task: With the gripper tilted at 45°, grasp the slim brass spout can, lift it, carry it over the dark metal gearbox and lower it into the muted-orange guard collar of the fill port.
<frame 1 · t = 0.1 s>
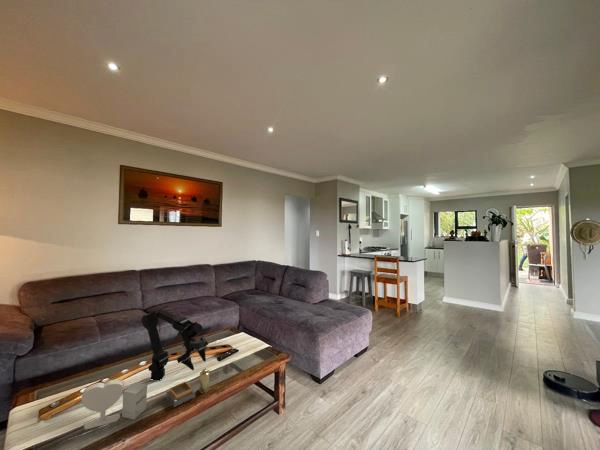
hand: (199, 365, 141), 15 cm above the table, tool tilted 35°, fingers open, 9 cm apart
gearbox: (180, 397, 136), on the table
heart sculpture: (102, 421, 118), on the table, touching supplement box
supplement box: (134, 413, 124), on the table, touching heart sculpture
spout can: (203, 390, 143), on the table
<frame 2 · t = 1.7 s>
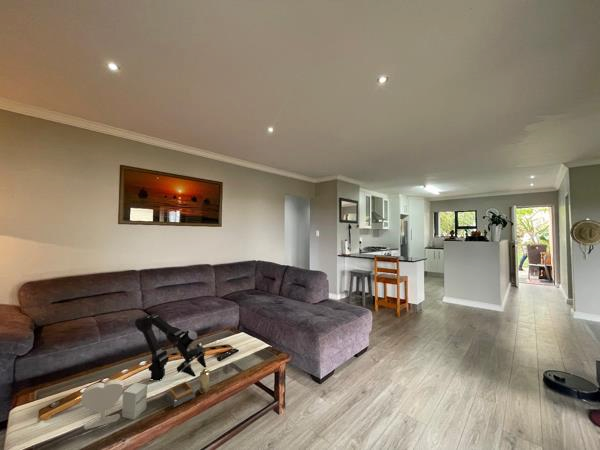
hand: (200, 371, 143), 10 cm above the table, tool tilted 45°, fingers open, 9 cm apart
nothing on the table moved.
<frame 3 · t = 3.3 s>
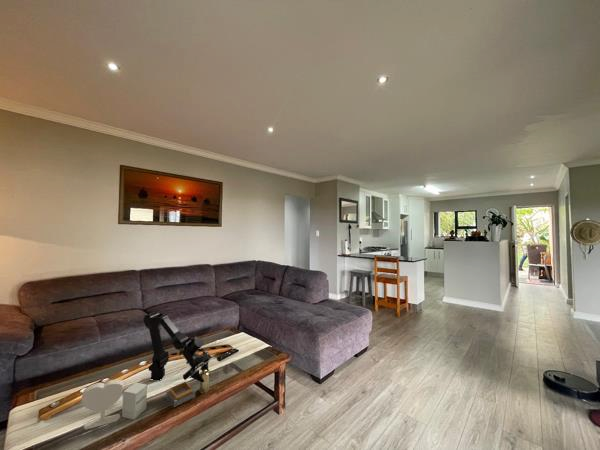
hand: (206, 379, 142), 7 cm above the table, tool tilted 45°, fingers closed on spout can, 5 cm apart
spout can: (203, 390, 143), on the table, touching gripper
everything else where it was.
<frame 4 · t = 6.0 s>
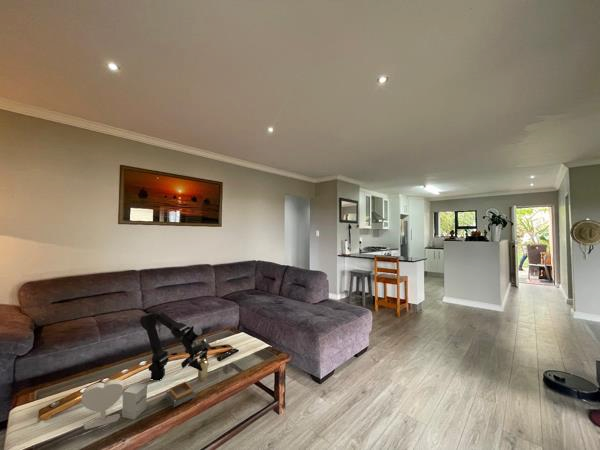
hand: (204, 368, 141), 13 cm above the table, tool tilted 45°, fingers closed on spout can, 5 cm apart
spout can: (202, 378, 142), point 7 cm above the table, touching gripper
everything else where it was.
when the fingers open (10 cm above the table, at t = 8.5 s): spout can stays where it is, resting on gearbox.
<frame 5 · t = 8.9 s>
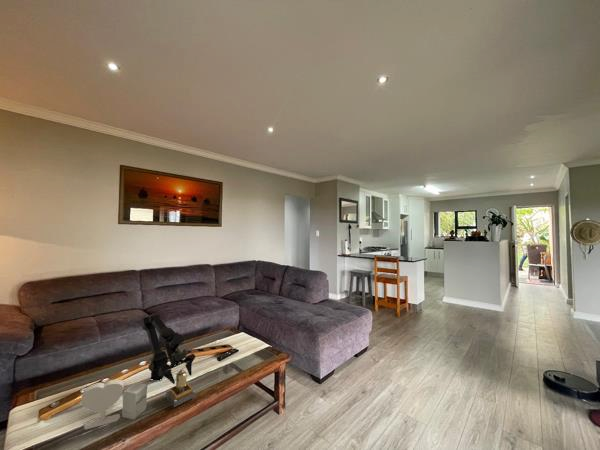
hand: (182, 379, 135), 11 cm above the table, tool tilted 45°, fingers open, 9 cm apart
spout can: (180, 392, 136), point 3 cm above the table, touching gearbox
everything else where it was.
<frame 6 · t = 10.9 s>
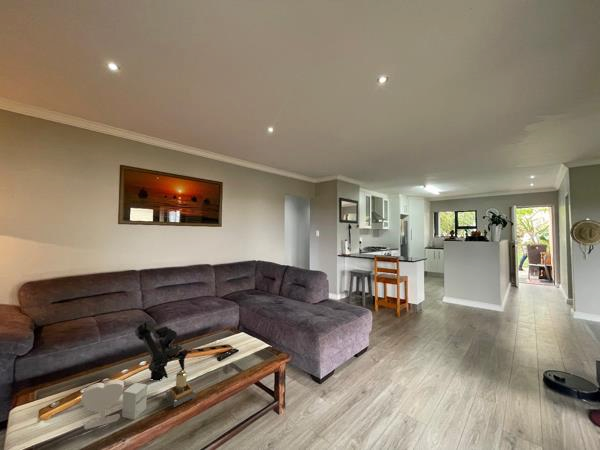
hand: (175, 374, 140), 11 cm above the table, tool tilted 45°, fingers open, 9 cm apart
nothing on the table moved.
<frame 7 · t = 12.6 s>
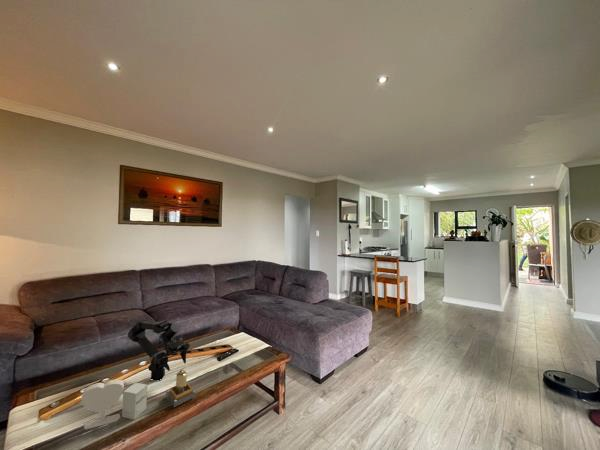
hand: (177, 366, 141), 14 cm above the table, tool tilted 45°, fingers open, 9 cm apart
nothing on the table moved.
at the end: spout can 0.0 cm off-centre on the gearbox, point 3.0 cm above the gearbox's base; spout can tilted 0°; the gripper is holding nothing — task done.
